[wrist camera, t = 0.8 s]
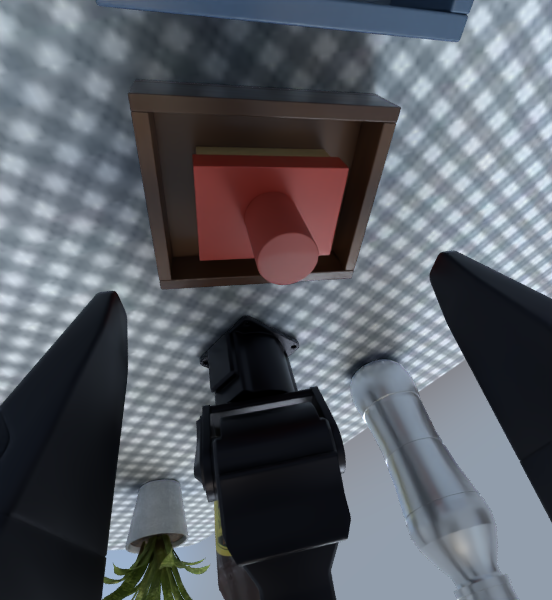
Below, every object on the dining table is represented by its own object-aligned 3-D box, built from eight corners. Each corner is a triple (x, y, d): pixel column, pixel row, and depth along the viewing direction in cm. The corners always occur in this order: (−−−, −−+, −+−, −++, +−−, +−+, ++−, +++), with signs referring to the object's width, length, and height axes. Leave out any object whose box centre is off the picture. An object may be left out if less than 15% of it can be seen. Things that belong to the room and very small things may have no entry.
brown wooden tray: (337, 254, 26) (351, 278, 23) (162, 261, 23) (161, 290, 21) (375, 93, 19) (401, 107, 17) (134, 78, 16) (127, 92, 14)
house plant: (223, 451, 42) (240, 632, 30) (224, 495, 51) (237, 647, 39) (97, 471, 39) (60, 680, 27) (121, 513, 48) (102, 685, 36)
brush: (328, 145, 20) (384, 204, 14) (314, 227, 23) (354, 299, 18) (191, 141, 18) (195, 206, 13) (197, 229, 21) (203, 310, 16)
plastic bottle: (349, 396, 40) (448, 632, 25) (338, 364, 35) (451, 632, 20) (402, 376, 39) (535, 605, 25) (399, 341, 34) (559, 598, 20)
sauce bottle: (262, 419, 39) (310, 672, 25) (265, 444, 43) (308, 673, 29) (204, 431, 38) (218, 700, 24) (213, 455, 42) (230, 697, 28)
